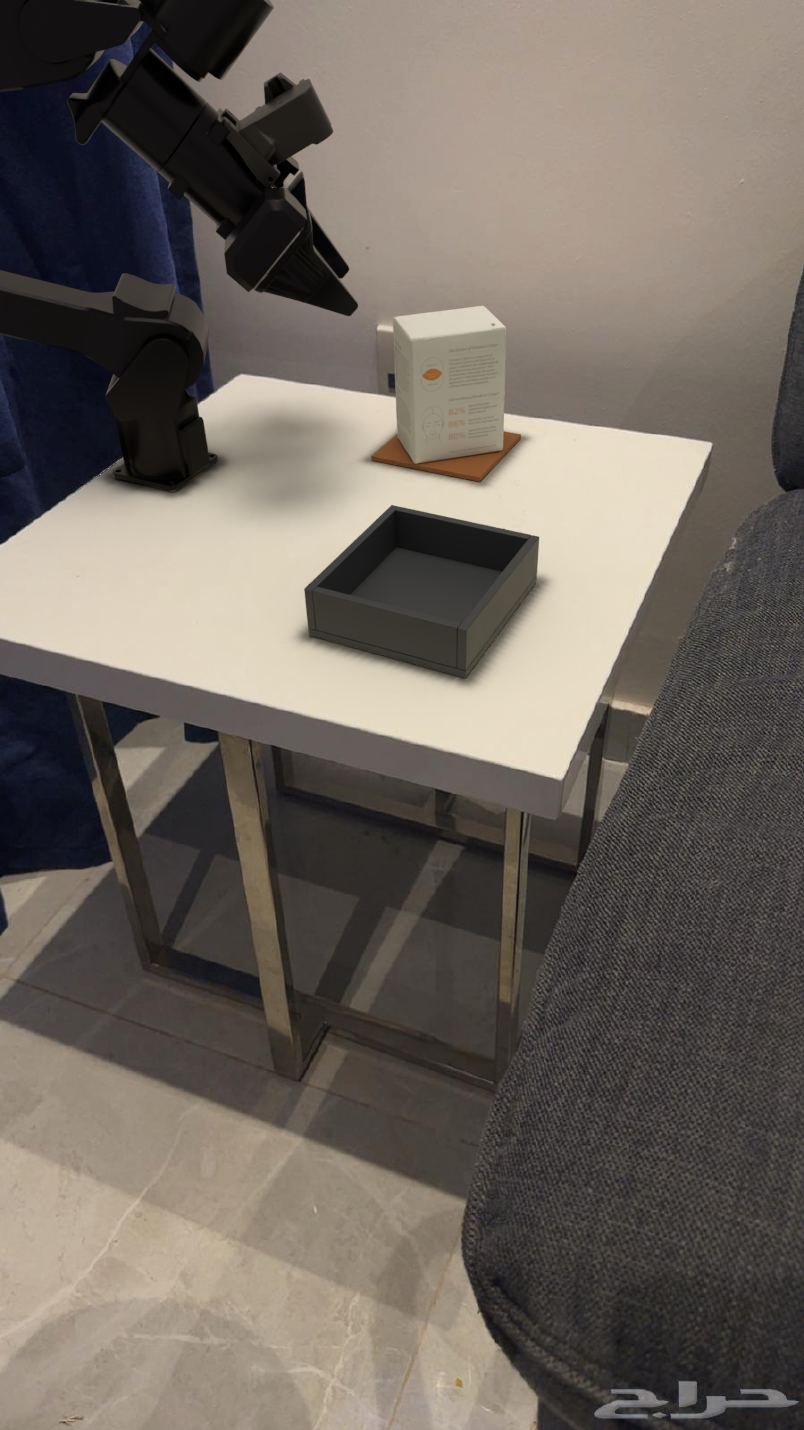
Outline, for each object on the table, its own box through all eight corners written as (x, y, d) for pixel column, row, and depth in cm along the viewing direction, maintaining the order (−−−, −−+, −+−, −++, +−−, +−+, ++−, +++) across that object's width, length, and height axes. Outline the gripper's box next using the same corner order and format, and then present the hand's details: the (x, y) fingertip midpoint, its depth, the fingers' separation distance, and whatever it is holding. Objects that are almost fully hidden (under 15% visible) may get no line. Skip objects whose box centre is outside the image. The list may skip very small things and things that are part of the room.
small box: (482, 426, 91) (486, 303, 84) (504, 452, 87) (509, 325, 80) (395, 438, 90) (391, 314, 83) (412, 465, 85) (409, 337, 79)
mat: (371, 460, 87) (371, 455, 87) (417, 420, 93) (417, 415, 93) (480, 482, 84) (480, 477, 83) (520, 438, 90) (521, 434, 90)
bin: (308, 635, 67) (303, 588, 65) (393, 548, 76) (391, 504, 73) (465, 678, 63) (466, 630, 61) (536, 582, 72) (539, 536, 69)
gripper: (254, 54, 61) (439, 241, 69) (254, 20, 76) (407, 178, 83) (145, 206, 66) (330, 365, 73) (164, 147, 80) (318, 285, 88)
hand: (349, 291), depth 79 cm, fingers open, 9 cm apart
